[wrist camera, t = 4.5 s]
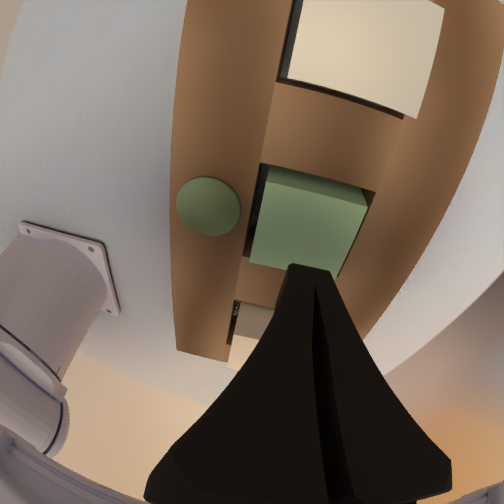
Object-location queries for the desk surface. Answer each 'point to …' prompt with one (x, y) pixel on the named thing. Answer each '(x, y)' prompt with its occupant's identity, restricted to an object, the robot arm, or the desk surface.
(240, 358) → the cream button
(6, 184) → the desk surface
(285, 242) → the sage button
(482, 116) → the brown wooden slotted board
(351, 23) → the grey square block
